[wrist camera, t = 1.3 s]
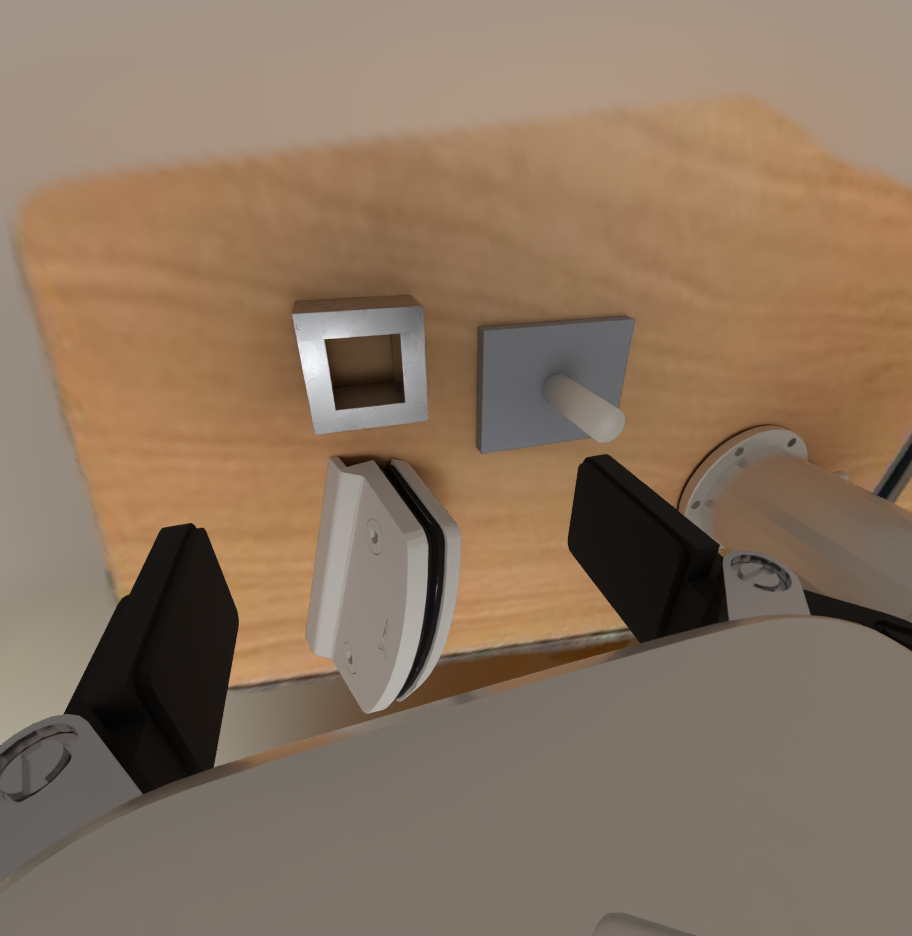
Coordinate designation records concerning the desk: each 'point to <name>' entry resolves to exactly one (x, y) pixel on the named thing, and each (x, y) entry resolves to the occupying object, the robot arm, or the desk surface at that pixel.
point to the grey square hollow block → (371, 400)
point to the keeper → (551, 382)
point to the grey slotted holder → (382, 580)
